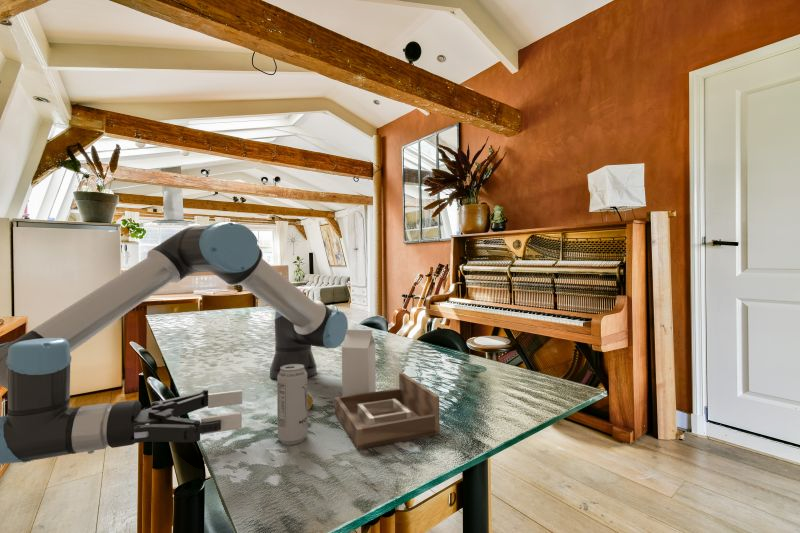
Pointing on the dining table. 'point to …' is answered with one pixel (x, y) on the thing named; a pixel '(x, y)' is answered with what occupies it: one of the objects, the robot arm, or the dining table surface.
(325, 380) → the dining table surface
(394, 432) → the walled box
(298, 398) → the energy drink can
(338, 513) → the dining table surface
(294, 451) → the dining table surface
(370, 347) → the milk carton
